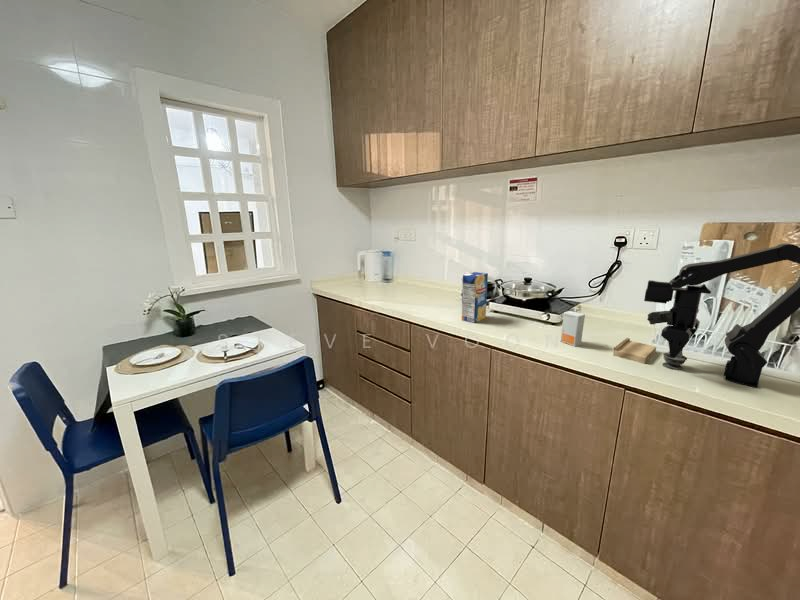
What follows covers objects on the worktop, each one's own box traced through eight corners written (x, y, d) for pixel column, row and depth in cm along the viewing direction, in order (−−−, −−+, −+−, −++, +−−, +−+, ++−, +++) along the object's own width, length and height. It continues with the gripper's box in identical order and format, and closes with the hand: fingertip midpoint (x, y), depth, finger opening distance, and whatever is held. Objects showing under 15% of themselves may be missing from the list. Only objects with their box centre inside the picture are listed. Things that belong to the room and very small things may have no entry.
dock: (655, 351, 112) (656, 344, 111) (644, 363, 103) (645, 355, 103) (625, 344, 119) (626, 337, 118) (612, 355, 110) (614, 347, 109)
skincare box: (559, 341, 123) (563, 312, 120) (566, 339, 125) (570, 310, 122) (574, 346, 118) (578, 316, 115) (581, 344, 120) (585, 314, 117)
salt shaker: (685, 366, 101) (692, 330, 98) (684, 372, 97) (692, 335, 94) (661, 361, 105) (668, 326, 102) (660, 367, 101) (667, 331, 98)
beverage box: (461, 320, 151) (462, 275, 146) (473, 315, 159) (475, 272, 154) (474, 323, 147) (476, 276, 141) (485, 317, 154) (487, 273, 149)
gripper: (660, 296, 108) (652, 339, 112) (644, 306, 96) (636, 353, 100) (704, 302, 99) (694, 348, 103) (693, 313, 88) (682, 365, 92)
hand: (675, 353), depth 100 cm, fingers open, 9 cm apart
